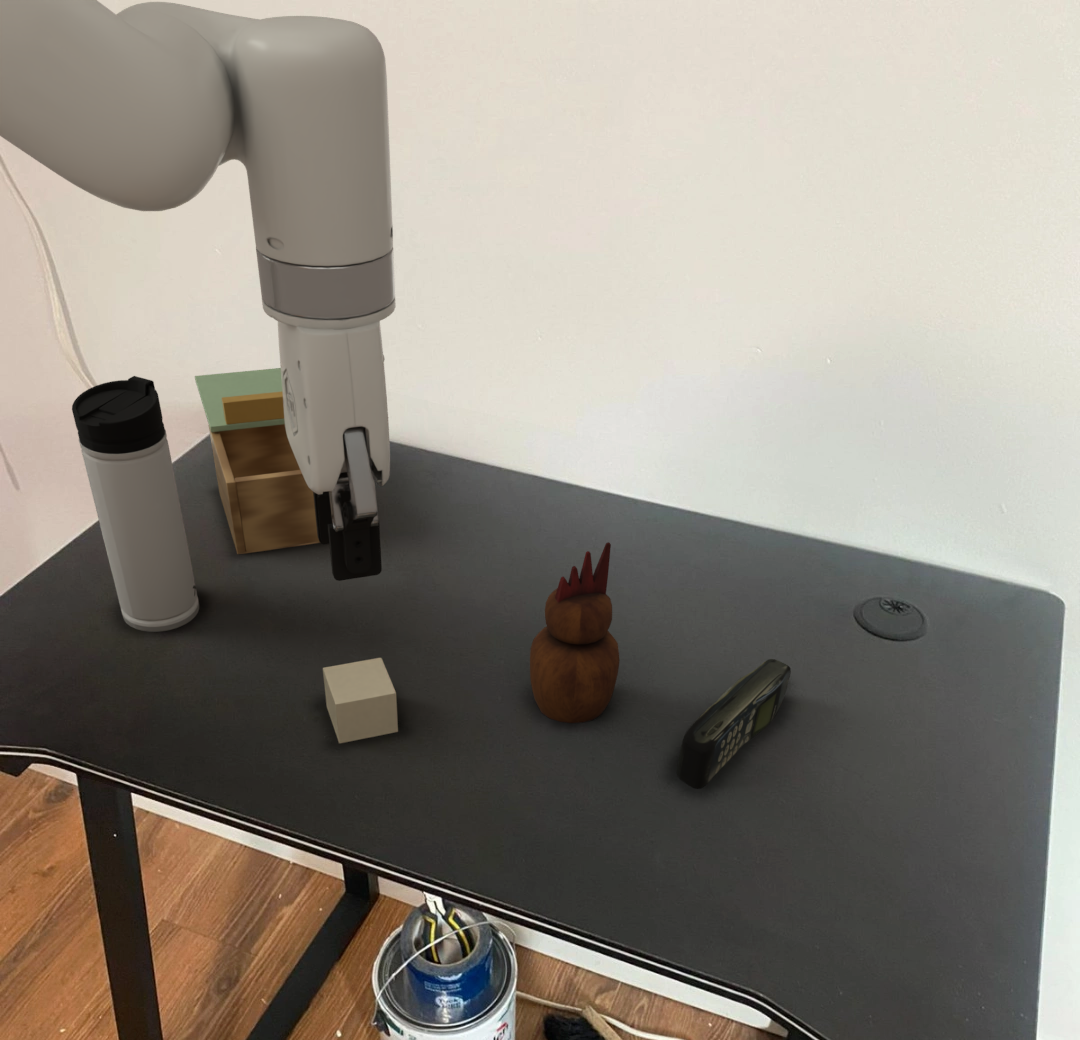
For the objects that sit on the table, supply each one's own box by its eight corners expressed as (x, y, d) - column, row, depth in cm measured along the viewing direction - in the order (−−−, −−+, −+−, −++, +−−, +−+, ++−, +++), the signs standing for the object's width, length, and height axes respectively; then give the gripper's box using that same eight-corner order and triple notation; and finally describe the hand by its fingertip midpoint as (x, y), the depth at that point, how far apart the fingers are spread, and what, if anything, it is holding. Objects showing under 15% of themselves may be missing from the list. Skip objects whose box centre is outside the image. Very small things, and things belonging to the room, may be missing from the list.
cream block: (339, 750, 80) (335, 704, 77) (327, 713, 83) (322, 667, 80) (398, 738, 81) (396, 692, 78) (384, 702, 84) (381, 657, 81)
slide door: (211, 432, 100) (206, 404, 98) (195, 381, 108) (190, 354, 107) (327, 419, 103) (325, 392, 102) (303, 371, 112) (301, 344, 110)
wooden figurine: (610, 689, 87) (629, 527, 77) (614, 736, 83) (635, 571, 73) (527, 686, 87) (536, 523, 77) (527, 732, 82) (536, 567, 73)
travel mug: (218, 606, 93) (178, 385, 80) (167, 646, 88) (117, 418, 75) (160, 587, 95) (112, 368, 82) (108, 625, 90) (48, 399, 77)
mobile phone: (712, 752, 75) (809, 650, 84) (675, 734, 76) (774, 635, 85) (702, 802, 78) (796, 698, 87) (667, 783, 79) (763, 683, 88)
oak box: (238, 561, 99) (226, 482, 93) (220, 499, 107) (208, 424, 102) (355, 544, 102) (350, 467, 97) (329, 485, 110) (323, 411, 105)
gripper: (237, 238, 65) (272, 505, 77) (288, 340, 53) (319, 637, 65) (359, 231, 67) (374, 492, 79) (433, 328, 56) (437, 616, 68)
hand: (349, 554), depth 72 cm, fingers open, 3 cm apart
